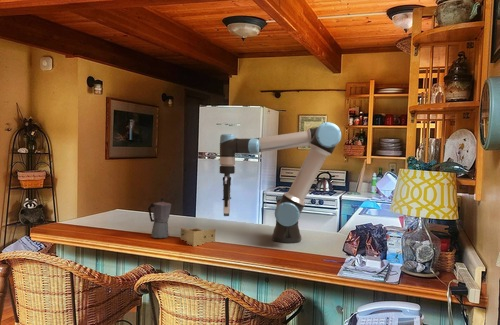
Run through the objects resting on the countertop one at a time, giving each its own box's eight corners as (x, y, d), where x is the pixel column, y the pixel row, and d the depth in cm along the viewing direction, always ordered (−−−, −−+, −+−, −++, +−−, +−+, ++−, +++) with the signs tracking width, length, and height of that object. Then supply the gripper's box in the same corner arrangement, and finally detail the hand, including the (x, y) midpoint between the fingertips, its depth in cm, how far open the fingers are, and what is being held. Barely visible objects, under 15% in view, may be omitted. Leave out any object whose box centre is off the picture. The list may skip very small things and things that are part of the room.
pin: (231, 215, 200) (231, 189, 199) (225, 216, 197) (226, 190, 197) (227, 214, 202) (227, 189, 202) (221, 215, 200) (221, 189, 199)
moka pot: (176, 235, 212) (177, 198, 211) (155, 241, 199) (156, 201, 198) (163, 233, 217) (163, 196, 216) (141, 238, 204) (142, 199, 203)
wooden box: (217, 242, 201) (218, 228, 201) (193, 246, 191) (193, 231, 191) (200, 236, 212) (200, 223, 212) (176, 240, 202) (176, 226, 202)
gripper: (221, 164, 207) (220, 210, 208) (217, 166, 191) (217, 215, 192) (235, 164, 207) (235, 210, 208) (233, 166, 191) (232, 215, 192)
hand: (226, 212), depth 200 cm, fingers closed on pin, 3 cm apart
